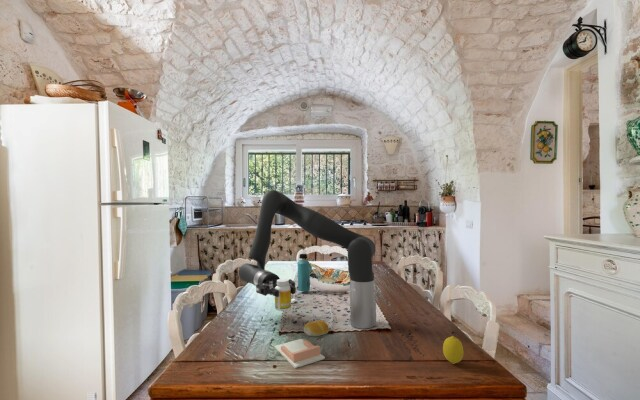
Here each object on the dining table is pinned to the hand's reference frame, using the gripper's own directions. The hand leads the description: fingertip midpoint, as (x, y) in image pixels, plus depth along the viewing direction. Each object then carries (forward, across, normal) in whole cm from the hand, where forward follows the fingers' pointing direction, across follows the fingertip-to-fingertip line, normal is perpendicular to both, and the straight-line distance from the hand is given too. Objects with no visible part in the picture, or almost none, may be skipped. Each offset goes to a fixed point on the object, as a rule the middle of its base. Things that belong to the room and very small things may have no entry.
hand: (286, 292), depth 104 cm
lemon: (+37, +35, +18) cm, 54 cm away
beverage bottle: (-49, +34, +18) cm, 62 cm away
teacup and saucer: (-37, +18, +18) cm, 45 cm away
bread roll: (-4, +14, +18) cm, 23 cm away
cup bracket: (+7, +1, +18) cm, 19 cm away
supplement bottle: (-3, 0, +6) cm, 7 cm away
